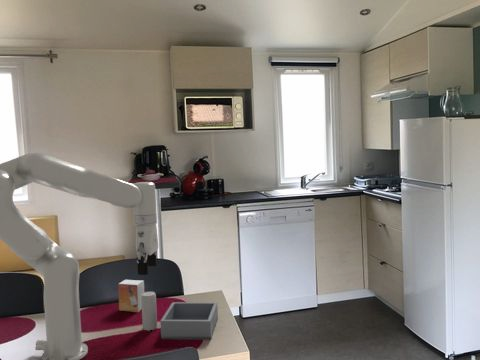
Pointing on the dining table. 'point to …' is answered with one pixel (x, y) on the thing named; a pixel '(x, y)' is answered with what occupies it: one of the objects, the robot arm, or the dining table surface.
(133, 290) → the small box
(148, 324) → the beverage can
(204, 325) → the box
